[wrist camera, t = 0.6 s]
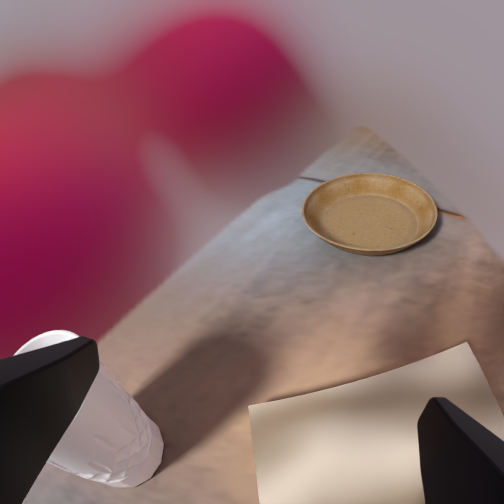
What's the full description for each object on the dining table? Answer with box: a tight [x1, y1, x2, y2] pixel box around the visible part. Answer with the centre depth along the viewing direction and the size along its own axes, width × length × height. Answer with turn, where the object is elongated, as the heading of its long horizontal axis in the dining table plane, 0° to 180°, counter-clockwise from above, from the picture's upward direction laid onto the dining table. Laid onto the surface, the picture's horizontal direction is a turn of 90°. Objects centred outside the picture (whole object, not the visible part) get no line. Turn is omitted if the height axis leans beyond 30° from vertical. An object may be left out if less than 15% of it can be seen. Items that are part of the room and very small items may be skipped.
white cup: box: [15, 330, 164, 488], centre depth 16 cm, size 8×8×10 cm
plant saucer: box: [302, 173, 437, 256], centre depth 33 cm, size 15×15×3 cm
